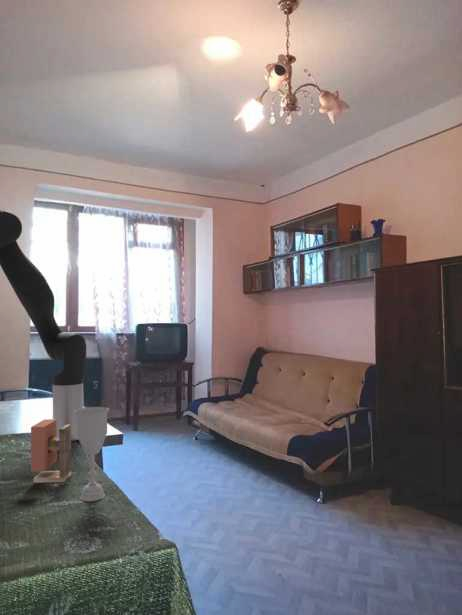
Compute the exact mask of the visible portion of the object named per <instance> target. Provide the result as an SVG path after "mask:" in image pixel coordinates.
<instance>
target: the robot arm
mask: <svg viewBox="0 0 462 615" xmlns="http://www.w3.org/2000/svg"><path fill="white" fill-rule="evenodd" d="M20 219H21V218H19V217H18V216H17V215H16V214H15V213H13V212H12V211H7V210H4V209H2V210H0V268H1V269H2V271H3V273H4V275H5V276H6V279H7V281H8V283H9V284H10V285H11V288H12V289H13V292H14V293H15V295H16V297H17V298H18V300H19V302H20V304H21V305H22V307H23V308H24V310H25V311H26V313H27V315H28V316H29V319H30V321H31V323H32V324H33V326H34V327H35V329H36V331H37V334H38V336H39V338H40V340H41V342H42V345H43V348H44V350H45V351H46V354H47V356H48V357H49V358H50V359H51V360H52V361H54V362H58V363H62V364H63V365H62V366H63V367H62V369H61V371H60V372H58V373H55V374H54V375H53V376H52V419H57V437H58V438H59V429H60V428H62V427H63V426H65V425H66V424H71V442H72V441H74V442H75V441H79V439H78V436H77V416H76V414H75V412H74V411H75V410H77V409H81V408H85V407H84V378H85V375H86V368H87V342H86V340H85V337H84V336H83V335H82V334H80V333H78V332H77V333H76V332H63V331H62V330H61V328H60V327H59V325H58V323H57V321H56V319H55V313H54V312H55V296H54V293H53V290H52V289H51V287H50V285H49V283H48V281H47V279H46V278H45V276H44V274H43V273H42V272H41V271H40V270H39V268H38V267H37V266H36V265H35V264H34V263H33V262H32V261H31V259H29V258H28V256H26V254H24V252H23V250H22V249H21V248H20V246H19V243H18V239H19V238H20V236H21V235H22V232H23V224H22V221H21V220H20Z"/></svg>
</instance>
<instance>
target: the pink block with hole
mask: <svg viewBox="0 0 462 615" xmlns="http://www.w3.org/2000/svg"><path fill="white" fill-rule="evenodd" d="M48 438H57V419H53V418H52V419H48V418H47V419H42V420H41V421H39V422H37V423H36V424H34V425H32V426H31V427H30V468H31V469H30V471H31V472H36V473H37V472H41V471H48V469H49V468H50V467H52V466H53V465H54V464H55V463H56V462H57V461H58V450H55V451H51V450H48Z"/></svg>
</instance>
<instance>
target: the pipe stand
mask: <svg viewBox="0 0 462 615" xmlns="http://www.w3.org/2000/svg"><path fill="white" fill-rule="evenodd" d="M48 450H51V451H55V450H57V451H59V455H58V458H59V459H58V462H59V470H46V471H39V473H38V474H37V475H36V476H34V477H33V478H32V479H33V482H32V483H33V484H35V483H36V484H38V483H40V484H42V483H44V484H45V483H65V482H66V481H67V480H68V479H69V478H70V477H71V475H72V441H71V424H66V425H65V426H63V427H62V428H60V429H59V438H58V437H57V438H48Z"/></svg>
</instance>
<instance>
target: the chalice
mask: <svg viewBox="0 0 462 615" xmlns="http://www.w3.org/2000/svg"><path fill="white" fill-rule="evenodd" d="M109 411H110V408H109V407H104V406H103V407H102V406H91V407H84V408H81V409H77V410H75V411H74V412H75V414H76V416H77V436H78V441H79V444H80V446H81V448H82V449H83V452H84V453H85V455H87V456H88V455H89V463H88V465H89V466H88V467H89V472H87V474H88V475H89V478H90V479H89V482H88V484H86V485H85V486H84V487H83V488H82V489H83V490H82V492H81V495H80V497H79V500H81V501H83V502H94V501H95V502H96V501H99V500H102V499H104V498H105V497H106V494H105V492H104V489H103V488H102V487H103V486H102V485H101V484H100V483H97V482H96V475H97V474H98V472H97V471H96V469H95V468H96V466H97V462H96V459H95V458H96V455H98V454H99V453H100V451H101V450H102V447H103V445H104V442H105V440H106V437H107V433H108V413H109Z"/></svg>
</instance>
